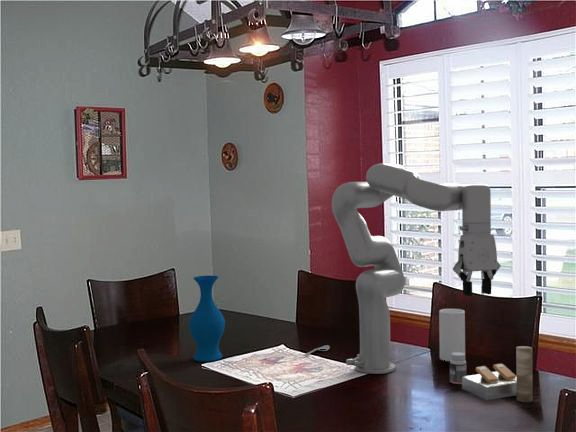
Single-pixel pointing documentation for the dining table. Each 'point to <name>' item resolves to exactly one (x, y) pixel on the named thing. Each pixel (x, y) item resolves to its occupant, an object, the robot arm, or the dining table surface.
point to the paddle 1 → (486, 374)
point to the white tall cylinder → (451, 332)
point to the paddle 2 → (504, 371)
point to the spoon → (318, 349)
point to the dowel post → (524, 373)
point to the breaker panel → (490, 386)
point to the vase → (207, 323)
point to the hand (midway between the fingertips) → (477, 293)
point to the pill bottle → (457, 367)
